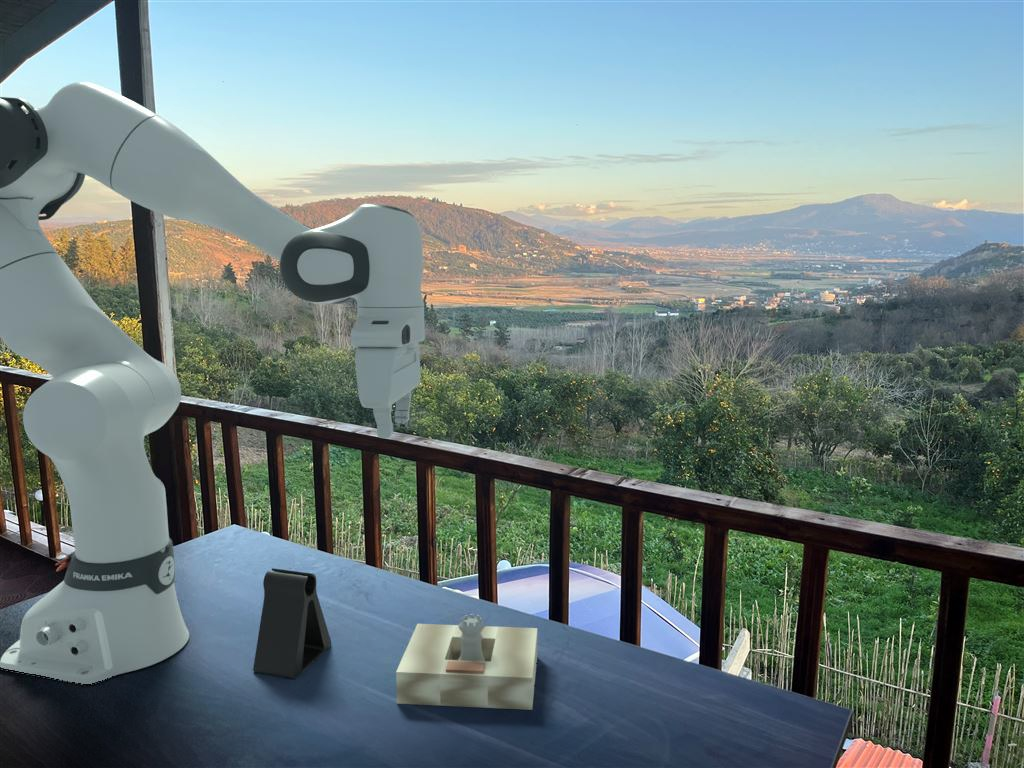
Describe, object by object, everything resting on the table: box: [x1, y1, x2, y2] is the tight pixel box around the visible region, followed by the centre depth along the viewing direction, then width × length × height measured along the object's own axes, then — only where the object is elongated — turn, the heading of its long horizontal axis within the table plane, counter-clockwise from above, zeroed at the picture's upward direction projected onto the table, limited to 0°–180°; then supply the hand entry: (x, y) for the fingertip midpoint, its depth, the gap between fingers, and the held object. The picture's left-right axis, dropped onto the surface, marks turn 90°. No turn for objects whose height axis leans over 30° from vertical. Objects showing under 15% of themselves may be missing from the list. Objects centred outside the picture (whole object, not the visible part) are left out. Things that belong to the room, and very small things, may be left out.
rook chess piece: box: [458, 613, 485, 661], centre depth 91 cm, size 4×4×8 cm
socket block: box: [395, 623, 538, 711], centre depth 91 cm, size 16×12×4 cm
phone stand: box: [252, 567, 332, 680], centre depth 95 cm, size 9×6×12 cm, turn 163°
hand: (394, 429), depth 100 cm, fingers open, 8 cm apart
